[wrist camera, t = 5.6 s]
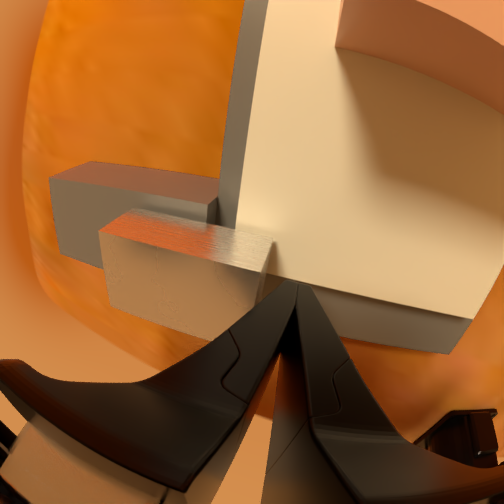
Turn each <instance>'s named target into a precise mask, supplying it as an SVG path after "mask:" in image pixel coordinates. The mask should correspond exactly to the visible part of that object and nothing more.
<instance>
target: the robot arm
mask: <svg viewBox="0 0 504 504" xmlns="http://www.w3.org/2000/svg"><path fill="white" fill-rule="evenodd" d="M280 352H281V353H280ZM279 355H280V362H279V371H278V380H277V389H276V398H275V406H274V415H273V423H272V430H271V438H270V445H269V453H268V460H267V467H266V473H265V474H266V475H265V480H264V486H263V493H262V499H261V504H504V461H503V462H501V463H500V464H499V465H498V461H497V455H496V452H497V451H498V443H497V438H496V433H495V429H494V425H493V421H492V419H493V418H494V417H495V416H496V415H497V414H498V413H497V409H490V410H471V411H453V412H450V413H449V414H447V415H446V416H445V417H444V418H443V419H442V420H441V421H440V422H439V423H438V424H436V425H435V426H434V427H433V428H432V429H431V430H429V431H428V432H427V433H426V434H425V435H423V436H422V437H421V438H420V439H418V440H417V441H416V442H415V443H413V444H412V443H410V442H408V441H407V440H406V439H405V438H403V437H402V436H401V435H400V434H399V432H398V431H397V430H396V429H395V427H394V426H393V424H392V423H391V421H390V420H389V418H388V417H387V415H386V414H385V412H384V411H383V410H382V408H381V407H380V405H379V404H378V402H377V401H376V399H375V398H374V396H373V395H372V393H371V392H370V390H369V389H368V387H367V386H366V384H365V383H364V381H363V379H362V377H361V376H360V374H359V372H358V370H357V369H356V367H355V365H354V363H353V361H352V359H350V356H349V354H348V352H347V350H346V348H345V346H344V345H343V343H342V341H341V339H340V337H339V335H338V334H337V332H336V330H335V328H334V326H333V325H332V323H331V321H330V319H329V317H328V315H327V314H326V312H325V310H324V308H323V307H322V305H321V303H320V301H319V299H318V298H317V296H316V294H315V292H314V291H313V289H312V287H311V286H310V285H307V284H303V283H297V282H294V281H290V280H285V281H283V282H282V283H281V284H280V285H279V286H278V287H277V288H275V289H274V290H273V291H272V292H271V293H270V294H268V295H267V296H266V297H265V298H264V299H263V300H261V301H260V302H259V303H258V304H257V305H255V306H254V307H253V308H252V309H251V310H249V311H248V312H247V313H246V314H245V315H244V316H242V317H241V318H240V319H239V320H237V321H236V322H235V323H234V324H233V325H231V326H230V327H229V328H228V329H227V330H225V331H224V332H223V333H222V334H220V335H219V336H218V337H217V338H215V339H214V340H213V341H211V342H210V343H208V344H207V345H206V346H204V347H203V348H201V349H199V350H198V351H196V352H195V353H193V354H191V355H190V356H188V357H186V358H185V359H183V360H181V361H179V362H178V363H176V364H174V365H172V366H170V367H169V368H167V369H165V370H163V371H162V372H160V373H158V374H156V375H154V376H152V377H150V378H148V379H145V380H142V381H138V382H133V383H92V382H70V381H62V380H57V379H53V378H49V377H47V376H44V375H42V374H41V373H39V372H37V371H36V370H35V369H33V368H32V367H31V366H29V365H28V364H26V363H25V362H24V361H22V360H19V359H1V360H0V391H1V392H2V393H3V394H4V395H5V397H6V398H7V399H8V400H9V401H10V403H11V404H12V405H13V406H14V407H15V408H16V409H17V411H18V412H19V413H20V414H21V415H22V416H23V417H24V418H25V419H26V420H27V421H28V422H27V423H26V424H25V426H24V427H23V429H22V430H21V432H20V433H19V435H18V436H16V435H15V434H14V433H13V432H12V431H11V430H10V429H9V428H8V427H6V425H5V424H4V423H2V421H1V420H0V504H211V502H212V500H213V498H214V496H215V494H216V493H217V491H218V489H219V487H220V485H221V483H222V481H223V479H224V477H225V475H226V473H227V471H228V469H229V467H230V465H231V463H232V461H233V459H234V457H235V455H236V453H237V451H238V449H239V447H240V444H241V442H242V440H243V438H244V436H245V434H246V432H247V429H248V427H249V425H250V423H251V421H252V418H253V416H254V414H255V412H256V409H257V407H258V405H259V403H260V400H261V398H262V396H263V393H264V391H265V389H266V386H267V384H268V382H269V379H270V377H271V374H272V372H273V370H274V367H275V365H276V362H277V360H278V357H279Z"/></svg>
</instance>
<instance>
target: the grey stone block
mask: <svg viewBox="0 0 504 504" xmlns="http://www.w3.org/2000/svg"><path fill="white" fill-rule="evenodd" d="M98 232H99V240H100V248H101V255H102V261H103V268H104V273H105V279H106V285H107V290H108V295H109V300H110V305H111V306H112V307H114V308H117V309H119V310H122V311H124V312H127V313H130V314H132V315H135V316H137V317H140V318H143V319H146V320H148V321H151V322H154V323H157V324H160V325H162V326H165V327H168V328H171V329H174V330H177V331H180V332H183V333H186V334H189V335H192V336H196V337H199V338H202V339H205V340H209V341H213V340H214V339H215V338H217V337H218V336H219V335H220V334H222V333H223V332H224V331H225V330H227V329H228V328H229V327H230V326H231V325H233V324H234V323H235V322H236V321H237V320H239V319H240V318H241V317H242V316H244V315H245V314H246V313H247V312H248V311H249V310H251V309H252V308H253V307H254V306H255V305H257V304H258V303H259V302H260V301H261V298H262V293H263V288H264V283H265V278H266V273H267V268H268V263H269V258H270V253H271V248H272V243H273V238H271V237H266V236H262V235H258V234H253V233H249V232H245V231H240V230H236V229H231V228H227V227H222V226H218V225H213V224H209V223H204V222H200V221H195V220H190V219H186V218H181V217H176V216H172V215H167V214H162V213H158V212H153V211H148V210H143V209H138V208H132V209H130V210H129V211H127V212H126V213H124V214H123V215H121V216H120V217H118V218H116V219H115V220H113V221H112V222H110V223H109V224H107V225H106V226H104V227H103V228H102V229H100V230H99V231H98Z"/></svg>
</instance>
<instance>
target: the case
mask: <svg viewBox="0 0 504 504" xmlns="http://www.w3.org/2000/svg"><path fill="white" fill-rule="evenodd" d="M268 1H269V0H245V3H244V8H243V14H242V20H241V26H240V31H239V37H238V44H237V50H236V56H235V63H234V69H233V76H232V83H231V90H230V97H229V104H228V112H227V120H226V128H225V136H224V144H223V153H222V161H221V170H220V179H216V178H210V177H204V176H198V175H192V174H186V173H179V172H173V171H166V170H159V169H152V168H144V167H136V166H128V165H119V164H110V163H101V162H87V163H84V164H82V165H79V166H77V167H74V168H71V169H69V170H66V171H64V172H61V173H59V174H56V175H54V176H52V177H49V184H50V194H51V202H52V209H53V216H54V222H55V228H56V234H57V239H58V244H59V249H60V254H63V255H65V256H68V257H71V258H73V259H76V260H79V261H81V262H84V263H87V264H90V265H92V266H95V267H98V268H101V269H104V268H103V261H102V255H101V248H100V240H99V232H98V231H99V230H100V229H102V228H103V227H104V226H106V225H107V224H109V223H110V222H112V221H113V220H115V219H116V218H118V217H120V216H121V215H123V214H124V213H126V212H127V211H129V210H130V209H132V208H138V209H143V210H148V211H153V212H158V213H162V214H167V215H172V216H176V217H181V218H186V219H190V220H195V221H200V222H204V223H209V224H213V225H218V226H222V227H227V228H231V229H235V226H236V218H237V210H238V202H239V195H240V187H241V179H242V172H243V164H244V157H245V150H246V143H247V135H248V128H249V121H250V115H251V108H252V101H253V94H254V88H255V81H256V74H257V68H258V62H259V55H260V49H261V43H262V37H263V31H264V24H265V19H266V13H267V7H268ZM285 280H290V281H294V282H297V283H303V284H307V285H310V286H311V287H312V289H313V291H314V292H315V294H316V296H317V298H318V299H319V301H320V303H321V305H322V307H323V308H324V310H325V312H326V314H327V315H328V317H329V319H330V321H331V323H332V325H333V326H334V328H335V330H336V332H337V334H338V335H339V336H341V337H346V338H351V339H356V340H361V341H366V342H372V343H377V344H383V345H389V346H395V347H401V348H407V349H413V350H420V351H427V352H434V353H441V354H450V352H451V351H452V350H453V348H454V347H455V346H456V344H457V343H458V341H459V340H460V338H461V337H462V336H463V334H464V333H465V331H466V330H467V328H468V327H469V325H470V324H471V322H472V320H473V319H469V318H464V317H460V316H455V315H450V314H445V313H440V312H436V311H431V310H426V309H421V308H417V307H412V306H408V305H403V304H398V303H394V302H389V301H385V300H380V299H376V298H371V297H367V296H362V295H358V294H354V293H349V292H345V291H340V290H336V289H332V288H327V287H323V286H319V285H314V284H310V283H306V282H302V281H297V280H293V279H289V278H285V277H281V276H277V275H272V274H268V273H266V278H265V283H264V288H263V293H262V298H261V300H263V299H264V298H265V297H266V296H267V295H268V294H270V293H271V292H272V291H273V290H274V289H275V288H277V287H278V286H279V285H280V284H281V283H282V282H283V281H285ZM495 281H496V280H495ZM494 283H495V282H494ZM493 285H494V284H493ZM488 294H489V293H488ZM487 296H488V295H487ZM484 301H485V300H484ZM480 308H481V307H480ZM475 316H476V315H475Z"/></svg>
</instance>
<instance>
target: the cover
mask: <svg viewBox="0 0 504 504" xmlns="http://www.w3.org/2000/svg"><path fill="white" fill-rule="evenodd" d="M235 229H236V230H240V231H245V232H249V233H253V234H258V235H262V236H266V237H271V238H273V243H272V248H271V253H270V258H269V263H268V268H267V273H268V274H272V275H277V276H281V277H285V278H289V279H293V280H297V281H302V282H306V283H310V284H314V285H319V286H323V287H327V288H332V289H336V290H340V291H345V292H349V293H354V294H358V295H362V296H367V297H371V298H376V299H380V300H385V301H389V302H394V303H398V304H403V305H408V306H412V307H417V308H421V309H426V310H431V311H436V312H440V313H445V314H450V315H455V316H460V317H464V318H469V319H474V317H475V315H476V314H477V312H478V311H479V309H480V307H481V306H482V304H483V302H484V300H485V299H486V297H487V295H488V293H489V292H490V290H491V288H492V286H493V284H494V282H495V280H496V279H497V277H498V275H499V273H500V271H501V269H502V267H503V265H504V0H269V1H268V7H267V13H266V19H265V24H264V31H263V37H262V43H261V49H260V55H259V62H258V68H257V74H256V81H255V88H254V94H253V101H252V108H251V115H250V121H249V128H248V135H247V143H246V150H245V157H244V164H243V172H242V179H241V187H240V195H239V202H238V210H237V218H236V226H235Z"/></svg>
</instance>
